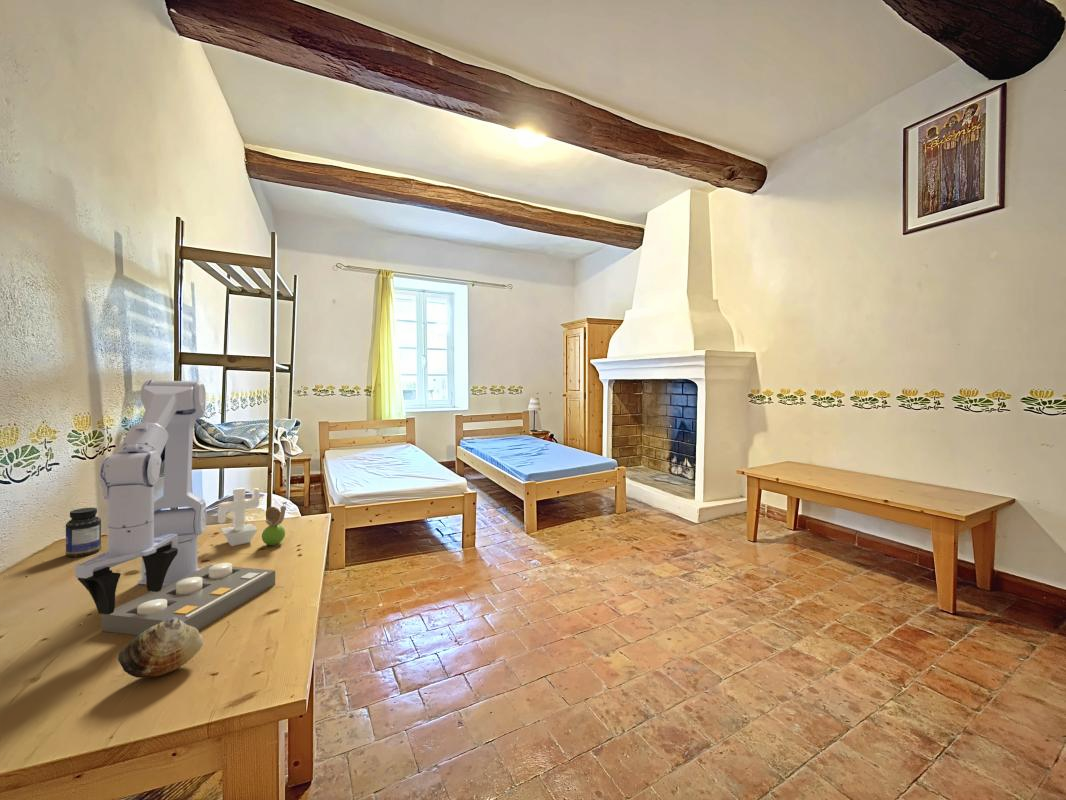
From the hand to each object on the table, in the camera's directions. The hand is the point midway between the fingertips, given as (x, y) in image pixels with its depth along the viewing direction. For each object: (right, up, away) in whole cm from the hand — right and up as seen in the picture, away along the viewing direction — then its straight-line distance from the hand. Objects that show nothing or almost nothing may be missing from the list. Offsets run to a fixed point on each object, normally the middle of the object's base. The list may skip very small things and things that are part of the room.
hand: (131, 601), depth 72 cm
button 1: (0, -5, +4) cm, 6 cm away
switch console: (+3, -6, +10) cm, 12 cm away
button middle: (+1, -4, +10) cm, 11 cm away
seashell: (+14, -6, -9) cm, 18 cm away
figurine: (-12, -5, +44) cm, 46 cm away
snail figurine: (-1, -5, +42) cm, 42 cm away
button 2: (+2, -4, +17) cm, 18 cm away
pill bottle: (-45, -4, +34) cm, 56 cm away
